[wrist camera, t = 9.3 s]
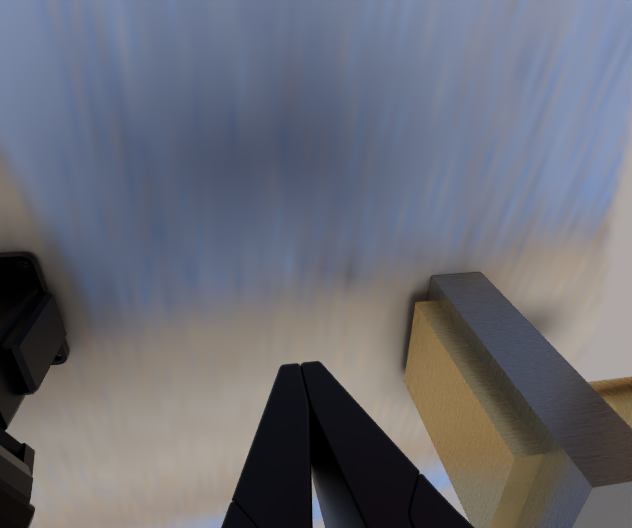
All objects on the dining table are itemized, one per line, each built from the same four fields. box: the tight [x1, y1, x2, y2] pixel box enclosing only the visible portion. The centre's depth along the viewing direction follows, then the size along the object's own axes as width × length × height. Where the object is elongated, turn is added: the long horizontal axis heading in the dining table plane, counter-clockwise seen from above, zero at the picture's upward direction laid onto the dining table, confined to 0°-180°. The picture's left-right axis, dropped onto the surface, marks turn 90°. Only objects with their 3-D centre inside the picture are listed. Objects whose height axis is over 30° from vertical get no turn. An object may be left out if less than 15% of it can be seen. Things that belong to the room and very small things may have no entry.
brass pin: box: [404, 300, 632, 528], centre depth 22 cm, size 10×6×10 cm, turn 89°
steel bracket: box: [428, 272, 632, 528], centre depth 21 cm, size 3×8×13 cm, turn 179°
